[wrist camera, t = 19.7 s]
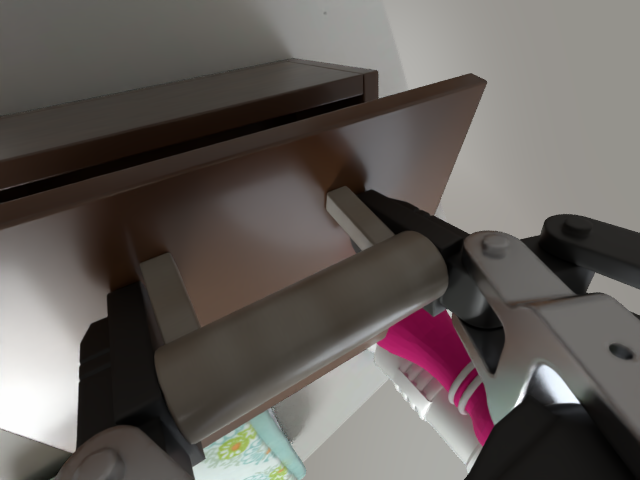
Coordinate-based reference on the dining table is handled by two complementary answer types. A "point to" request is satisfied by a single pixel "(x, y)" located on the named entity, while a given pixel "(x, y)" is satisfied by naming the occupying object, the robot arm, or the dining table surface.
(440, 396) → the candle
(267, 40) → the dining table surface
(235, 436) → the towel
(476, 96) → the lid
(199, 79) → the chest
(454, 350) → the pepper mill
